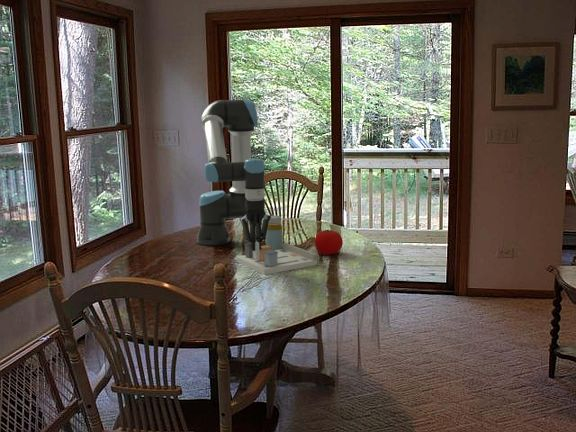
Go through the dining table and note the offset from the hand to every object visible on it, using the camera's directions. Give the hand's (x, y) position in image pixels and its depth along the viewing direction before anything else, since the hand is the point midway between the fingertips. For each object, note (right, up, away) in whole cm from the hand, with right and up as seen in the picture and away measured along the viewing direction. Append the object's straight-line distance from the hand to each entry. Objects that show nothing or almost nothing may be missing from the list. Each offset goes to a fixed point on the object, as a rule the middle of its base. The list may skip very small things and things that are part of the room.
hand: (256, 258), depth 235 cm
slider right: (+6, -2, -5) cm, 8 cm away
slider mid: (+3, -1, +2) cm, 4 cm away
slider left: (-2, 0, +8) cm, 8 cm away
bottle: (+7, +1, +26) cm, 26 cm away
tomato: (+30, 0, +19) cm, 35 cm away
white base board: (+8, -2, +5) cm, 10 cm away
